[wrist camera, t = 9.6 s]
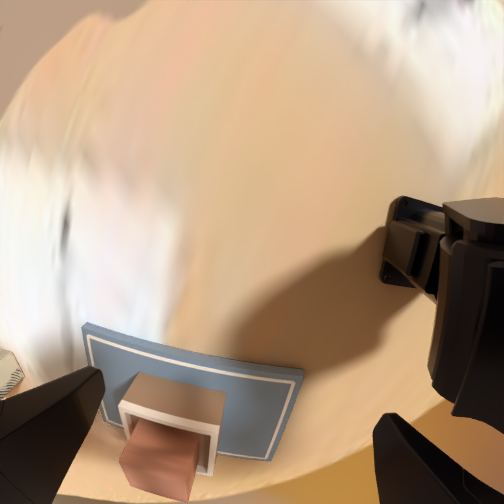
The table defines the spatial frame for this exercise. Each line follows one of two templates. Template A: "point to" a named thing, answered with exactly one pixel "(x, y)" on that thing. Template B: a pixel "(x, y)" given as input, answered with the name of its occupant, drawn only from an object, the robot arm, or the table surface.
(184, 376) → the blueprint board
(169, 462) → the terracotta block
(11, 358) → the box
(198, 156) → the table surface
